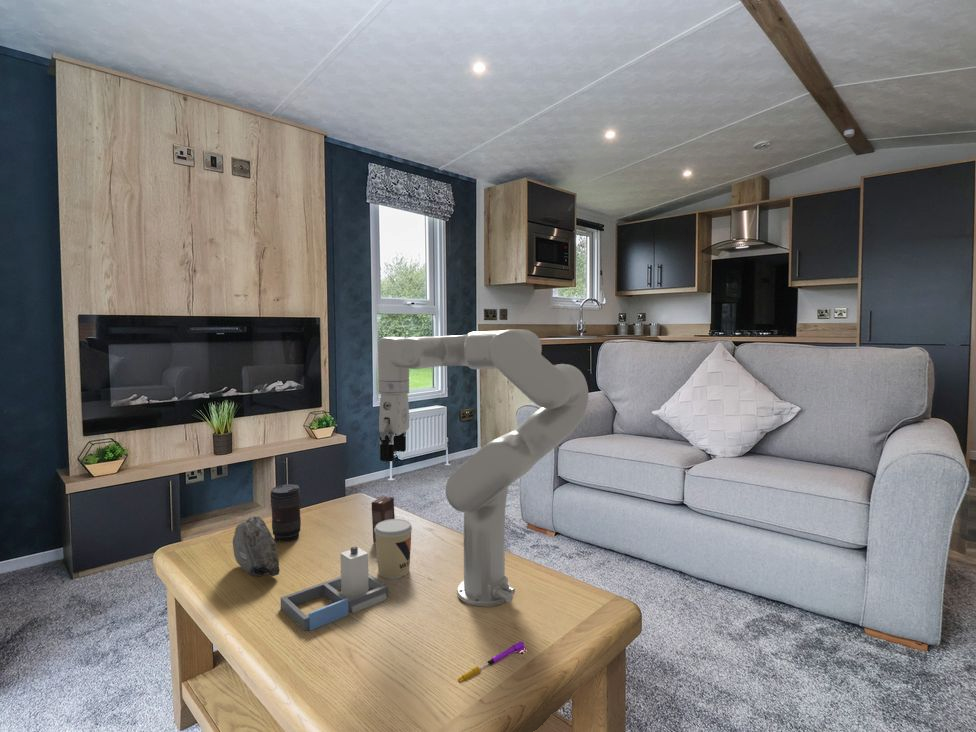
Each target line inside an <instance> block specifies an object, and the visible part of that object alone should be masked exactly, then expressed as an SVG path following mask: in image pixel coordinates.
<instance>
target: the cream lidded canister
mask: <svg viewBox="0 0 976 732" xmlns="http://www.w3.org/2000/svg"><path fill="white" fill-rule="evenodd" d="M412 530H413V525H412V523H411V521H409V520H406V519H403V518H402V519H401V518H395V519H390V520H385V521H382V522H379V523H378V524H377V525H376V527H375V529H374V531H375V538H376V543H375V549H376V559H377V560H376V561H377V569H378V570H377V572H378V575H379V576H380V577H382V578H386V579H397V578H402V577H404V576H406V575H407V574H408V573H409V572H410V565H411V548H412Z"/></svg>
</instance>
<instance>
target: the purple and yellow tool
mask: <svg viewBox="0 0 976 732" xmlns="http://www.w3.org/2000/svg"><path fill="white" fill-rule="evenodd" d="M524 648H525V649H527V648H526V647H525V642H524V641H523V640H522V641H518V642H517V643H515V644H513V645H511V647H508V648H507V649H505V650H503V651H501V652H499V654H496V655H494V656H492V657H491V658H490V659H488V660H487V662H486V663H485V664H484V665H481V667H479V666H478V665H477V666H475V667H473V668H472V669H470V670H469V671H467V672H465V673H464V674H462V675H461V677H459V678H457V681H458V682H459V683H461V682H463V681H467V680H469V679H470V678H472V677H474V676H476V675H478V674H479V673H481V669H483V668H485V667H486V666H488V665H489V666H492V665H493V664H497V662H500V661H501V660H503V659H504V658H506V657H508V656H509V654H510V655H511V654H513V653H515V652H514V651H518V652H520V651H521V650H524ZM518 652H517V653H518Z"/></svg>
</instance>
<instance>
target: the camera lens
mask: <svg viewBox="0 0 976 732" xmlns="http://www.w3.org/2000/svg"><path fill="white" fill-rule="evenodd" d="M270 491H271V492H270V508H271V530H272V536H274V537H273V538H274V541H275V542H279V543H287V542H292V541H294V540H297V539H298V538H299V537H300V532H301V527H302V526H301V525H302V524H301V522H302V520H301V519H302V518H301V490H300V486H299V485H298V484H292V483H291V484H290V483H289V484H288V483H287V484H281V485H277V486H274V487H273V488H271V490H270Z"/></svg>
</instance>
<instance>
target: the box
mask: <svg viewBox="0 0 976 732" xmlns="http://www.w3.org/2000/svg"><path fill="white" fill-rule="evenodd" d="M370 504H371V519H372V522H371V523H372V524H371V525H372V537H373V538H372V540H373V541H372V543H375V544H376V538H375V531H374V529H375V527H376V525H377V524H378V523H379V522H382V521H385V520H390V519H396V517H395V497H394V496H385V495H384V496H383V495H382V496H380V497H379V498H377V499H375V500H373V501H371V503H370Z"/></svg>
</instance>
